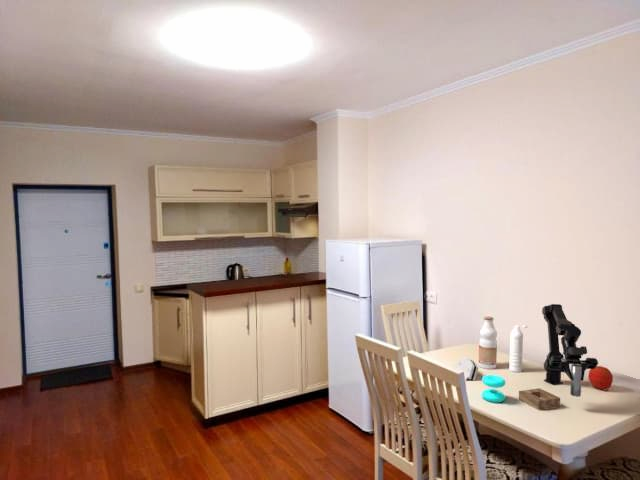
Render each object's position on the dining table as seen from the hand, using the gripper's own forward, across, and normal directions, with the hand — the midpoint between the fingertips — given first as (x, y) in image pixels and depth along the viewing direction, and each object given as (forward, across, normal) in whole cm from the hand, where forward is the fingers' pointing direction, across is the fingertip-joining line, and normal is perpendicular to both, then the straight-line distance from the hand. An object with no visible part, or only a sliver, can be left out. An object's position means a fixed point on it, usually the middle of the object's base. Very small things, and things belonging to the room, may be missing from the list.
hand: (577, 380), depth 200 cm
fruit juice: (-27, -29, +47) cm, 61 cm away
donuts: (+6, -34, +13) cm, 37 cm away
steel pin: (+4, 0, +6) cm, 7 cm away
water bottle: (-25, -14, +45) cm, 53 cm away
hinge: (-15, -42, +35) cm, 57 cm away
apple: (-12, +21, +32) cm, 40 cm away
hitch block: (+6, -14, +13) cm, 20 cm away
